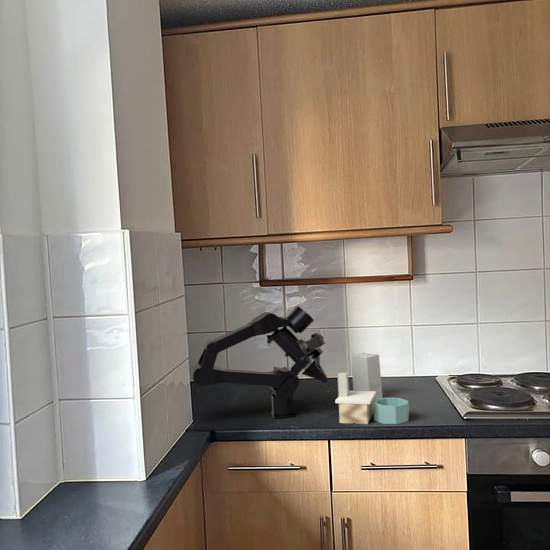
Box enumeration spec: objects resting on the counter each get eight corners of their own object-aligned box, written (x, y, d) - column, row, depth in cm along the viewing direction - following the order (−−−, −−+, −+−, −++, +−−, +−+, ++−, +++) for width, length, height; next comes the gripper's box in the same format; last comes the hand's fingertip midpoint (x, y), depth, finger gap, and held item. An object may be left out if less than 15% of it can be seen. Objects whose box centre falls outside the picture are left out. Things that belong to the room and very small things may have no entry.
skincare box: (383, 399, 193) (381, 354, 193) (369, 403, 190) (367, 357, 189) (365, 395, 200) (363, 351, 200) (352, 398, 197) (350, 354, 196)
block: (339, 422, 170) (338, 403, 169) (347, 411, 181) (346, 393, 181) (367, 424, 167) (366, 404, 167) (373, 412, 179) (373, 394, 178)
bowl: (372, 423, 168) (371, 405, 168) (377, 413, 177) (376, 397, 177) (406, 424, 165) (406, 406, 165) (409, 415, 174) (409, 398, 174)
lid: (335, 403, 170) (334, 377, 169) (343, 393, 181) (342, 369, 181) (370, 404, 167) (369, 378, 166) (376, 393, 178) (375, 369, 178)
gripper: (299, 329, 168) (339, 369, 165) (315, 321, 186) (351, 357, 183) (274, 357, 171) (313, 396, 168) (292, 346, 189) (327, 381, 186)
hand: (327, 381), depth 176 cm, fingers closed
